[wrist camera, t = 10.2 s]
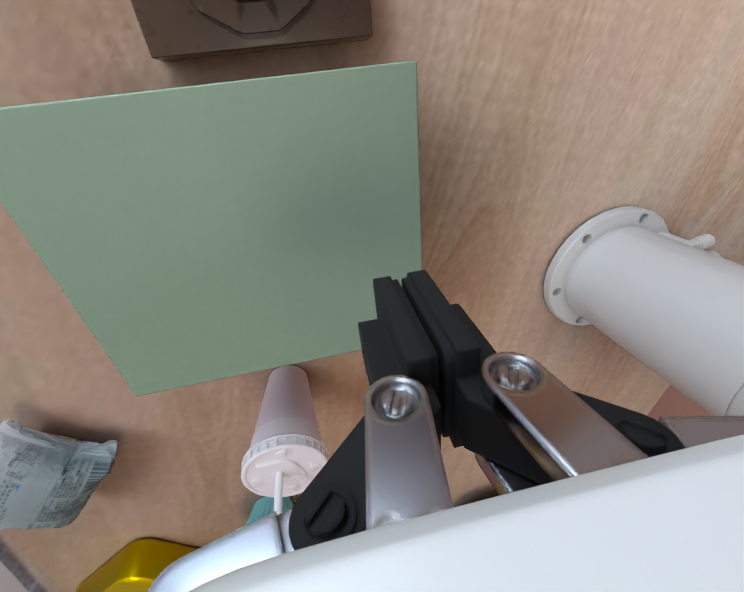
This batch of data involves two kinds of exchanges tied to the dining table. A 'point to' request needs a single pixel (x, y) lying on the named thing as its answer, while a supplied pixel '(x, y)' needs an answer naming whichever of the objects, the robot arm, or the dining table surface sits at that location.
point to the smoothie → (284, 439)
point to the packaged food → (47, 476)
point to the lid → (222, 215)
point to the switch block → (247, 25)
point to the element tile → (135, 566)
